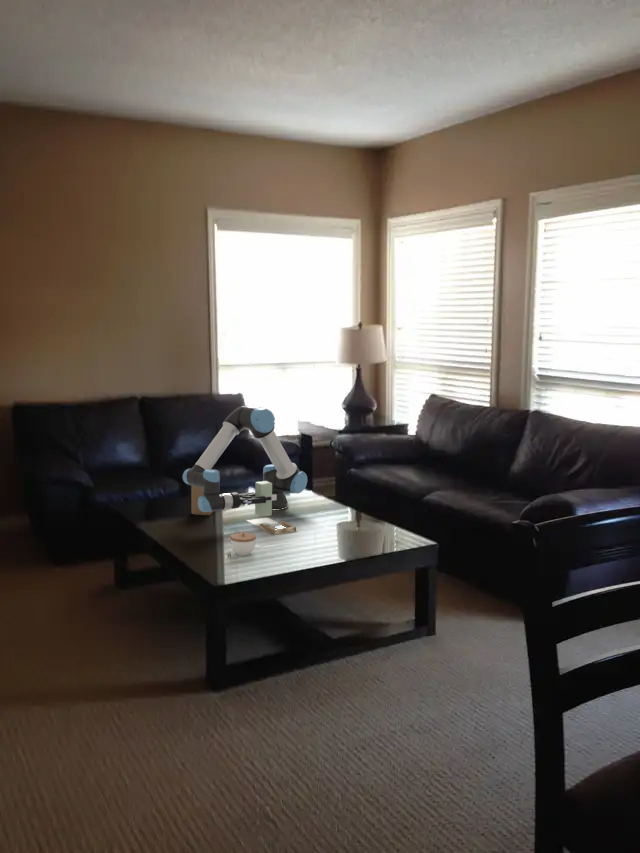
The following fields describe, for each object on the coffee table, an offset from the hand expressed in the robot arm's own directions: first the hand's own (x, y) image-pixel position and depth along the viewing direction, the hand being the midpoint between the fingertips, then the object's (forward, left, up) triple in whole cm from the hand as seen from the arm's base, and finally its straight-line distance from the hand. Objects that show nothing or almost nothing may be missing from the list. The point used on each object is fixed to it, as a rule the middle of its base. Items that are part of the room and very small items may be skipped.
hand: (272, 495), depth 367 cm
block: (+23, -32, -14) cm, 42 cm away
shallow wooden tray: (+5, +14, -13) cm, 20 cm away
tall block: (+5, 0, -9) cm, 10 cm away
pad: (+5, -1, -13) cm, 14 cm away
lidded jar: (+35, +38, -14) cm, 53 cm away
